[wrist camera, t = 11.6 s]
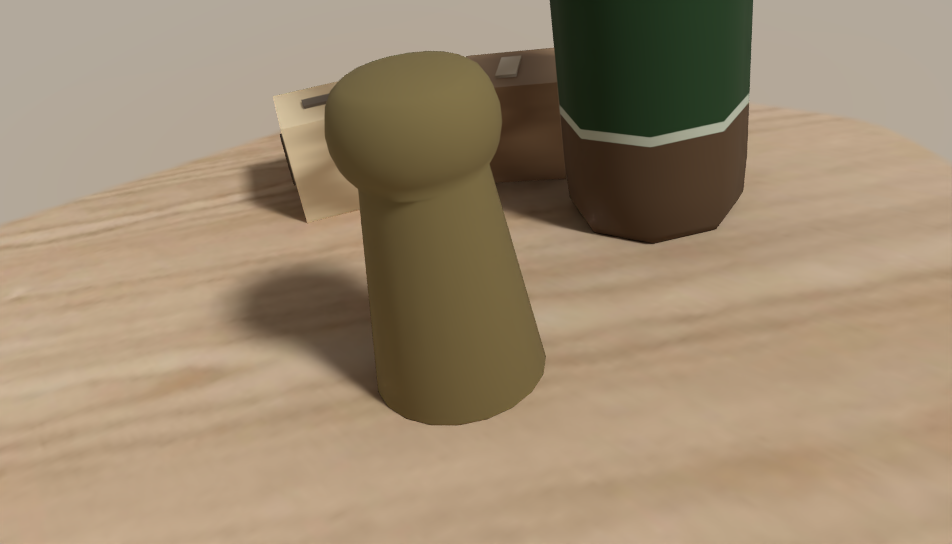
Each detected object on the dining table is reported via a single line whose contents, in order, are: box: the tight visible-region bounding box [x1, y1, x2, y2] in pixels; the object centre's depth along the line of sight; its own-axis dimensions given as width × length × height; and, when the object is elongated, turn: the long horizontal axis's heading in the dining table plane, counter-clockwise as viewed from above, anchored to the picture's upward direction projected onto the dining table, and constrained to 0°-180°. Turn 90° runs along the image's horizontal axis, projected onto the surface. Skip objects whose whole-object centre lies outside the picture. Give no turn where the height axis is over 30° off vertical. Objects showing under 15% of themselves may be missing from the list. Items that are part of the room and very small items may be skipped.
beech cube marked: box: [273, 82, 360, 223], centre depth 41 cm, size 5×5×5 cm
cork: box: [324, 51, 546, 425], centre depth 26 cm, size 6×6×11 cm
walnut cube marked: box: [466, 48, 566, 183], centre depth 41 cm, size 5×5×5 cm
